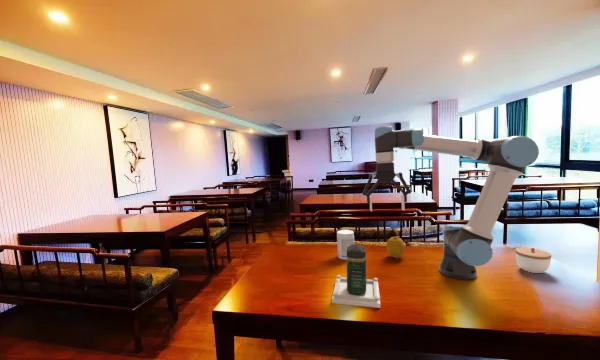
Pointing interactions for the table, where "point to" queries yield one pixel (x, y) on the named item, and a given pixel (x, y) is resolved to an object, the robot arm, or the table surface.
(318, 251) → the table surface
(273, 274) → the table surface
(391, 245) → the apple
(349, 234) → the supplement tub
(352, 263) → the coffee jar
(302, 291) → the table surface
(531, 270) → the lidded bowl
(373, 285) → the white square tray
